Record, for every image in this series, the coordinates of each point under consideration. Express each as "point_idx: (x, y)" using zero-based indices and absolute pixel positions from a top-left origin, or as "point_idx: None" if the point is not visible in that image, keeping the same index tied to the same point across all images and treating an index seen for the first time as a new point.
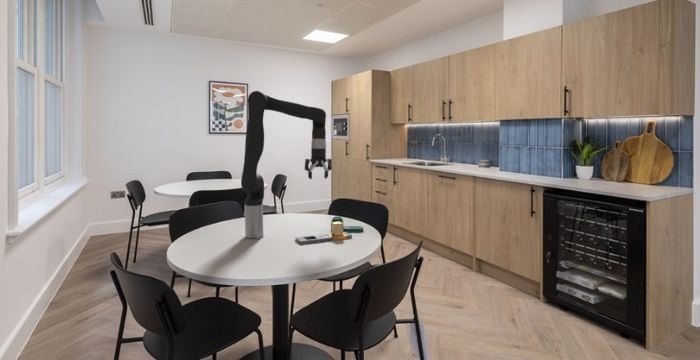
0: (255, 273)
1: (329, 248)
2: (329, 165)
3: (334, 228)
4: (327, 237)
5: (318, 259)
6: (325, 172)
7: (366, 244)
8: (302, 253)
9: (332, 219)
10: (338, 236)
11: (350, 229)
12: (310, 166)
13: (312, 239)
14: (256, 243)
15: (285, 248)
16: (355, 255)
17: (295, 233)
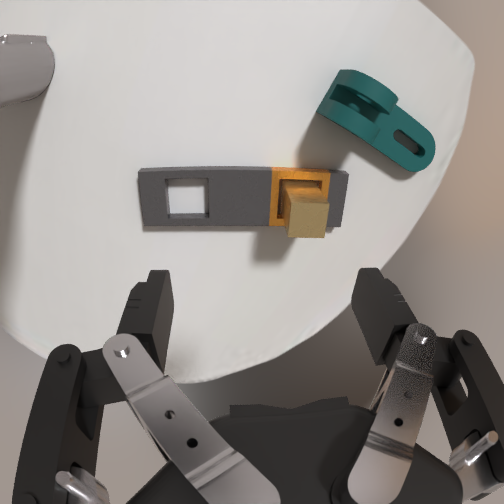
0: (53, 348)
1: (217, 289)
2: (443, 424)
3: (285, 222)
4: (248, 219)
5: None
6: (377, 341)
7: (329, 295)
8: None
9: (353, 88)
10: None
11: (383, 153)
12: (135, 411)
13: (188, 220)
14: (28, 156)
15: (99, 240)
16: (252, 350)
17: (171, 62)
